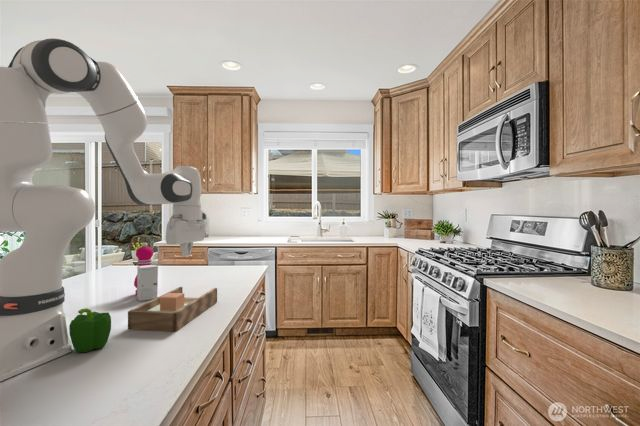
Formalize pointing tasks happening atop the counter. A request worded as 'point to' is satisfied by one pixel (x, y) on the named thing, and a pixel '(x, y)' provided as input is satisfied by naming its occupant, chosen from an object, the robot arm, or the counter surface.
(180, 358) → the counter surface
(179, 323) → the box
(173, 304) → the block
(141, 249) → the pepper mill
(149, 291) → the skincare box
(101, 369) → the counter surface
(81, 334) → the bell pepper
